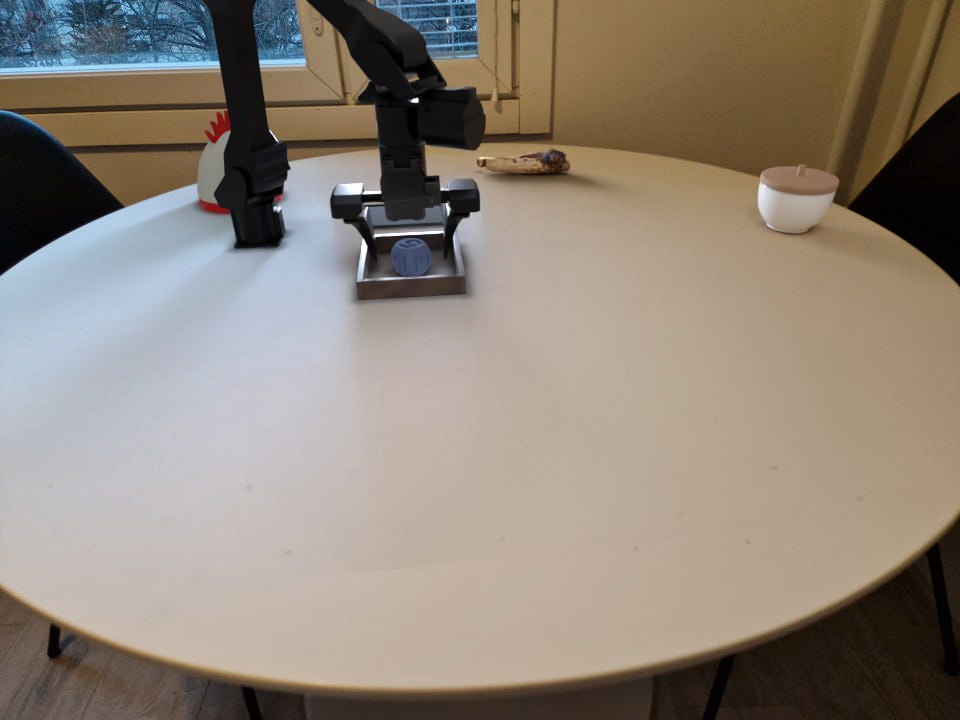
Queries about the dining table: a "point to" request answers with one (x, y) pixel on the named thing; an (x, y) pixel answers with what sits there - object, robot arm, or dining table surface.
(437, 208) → the mat
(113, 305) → the dining table surface
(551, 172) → the overripe banana
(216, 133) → the kitchen timer
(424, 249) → the decorative dice
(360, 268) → the rectangular frame
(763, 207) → the trinket box
